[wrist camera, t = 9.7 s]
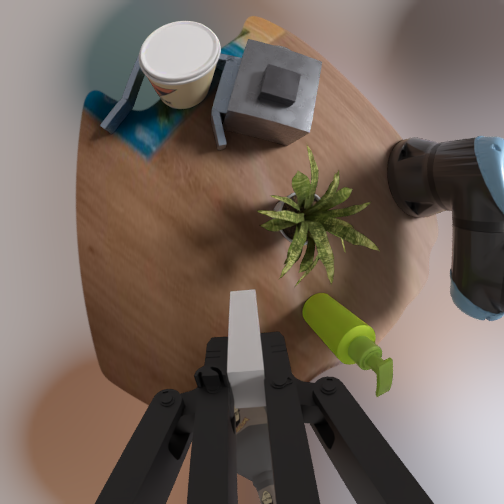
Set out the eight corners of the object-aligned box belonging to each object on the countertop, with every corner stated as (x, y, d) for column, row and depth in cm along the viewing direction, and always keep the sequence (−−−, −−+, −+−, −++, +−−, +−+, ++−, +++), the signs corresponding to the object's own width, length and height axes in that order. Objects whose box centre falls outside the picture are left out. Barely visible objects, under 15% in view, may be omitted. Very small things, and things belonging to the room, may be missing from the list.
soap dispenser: (306, 334, 45) (364, 407, 25) (299, 299, 43) (363, 365, 24) (336, 323, 45) (404, 385, 26) (331, 288, 44) (407, 341, 25)
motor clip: (283, 166, 39) (311, 154, 28) (106, 133, 33) (77, 113, 22) (301, 75, 36) (329, 45, 26) (139, 45, 31) (125, 7, 20)
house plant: (218, 187, 38) (229, 177, 22) (300, 148, 39) (357, 122, 23) (262, 273, 41) (299, 316, 25) (337, 230, 42) (404, 248, 26)
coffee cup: (144, 79, 32) (126, 40, 21) (199, 53, 33) (200, 9, 21) (168, 125, 35) (155, 95, 23) (225, 97, 35) (235, 60, 24)
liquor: (277, 384, 46) (342, 519, 17) (243, 412, 46) (281, 546, 17) (242, 360, 44) (293, 518, 14) (207, 390, 44) (226, 543, 15)
